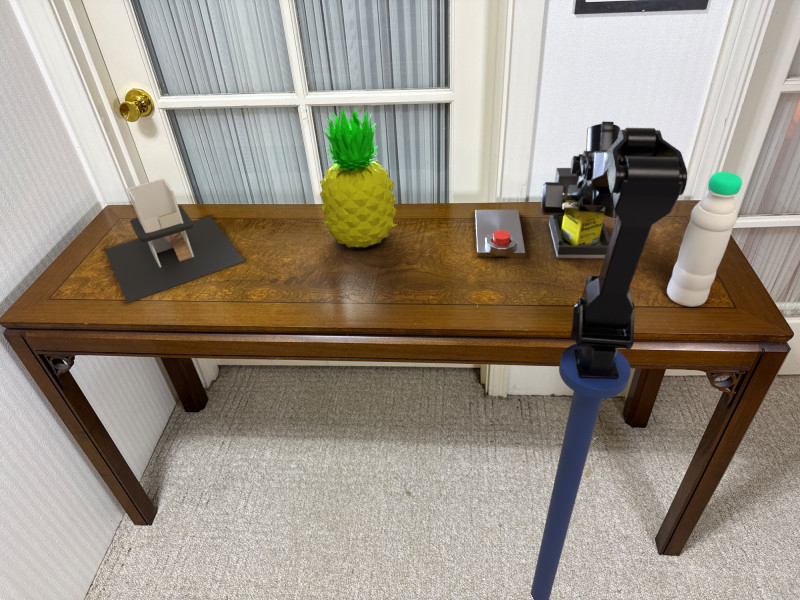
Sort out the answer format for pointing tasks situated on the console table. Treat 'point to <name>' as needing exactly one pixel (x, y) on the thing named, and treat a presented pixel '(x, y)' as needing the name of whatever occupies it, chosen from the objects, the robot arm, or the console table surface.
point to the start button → (501, 238)
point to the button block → (494, 222)
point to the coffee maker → (556, 222)
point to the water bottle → (705, 241)
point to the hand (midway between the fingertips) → (583, 211)
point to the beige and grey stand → (167, 245)
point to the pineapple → (356, 185)
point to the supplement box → (581, 226)
